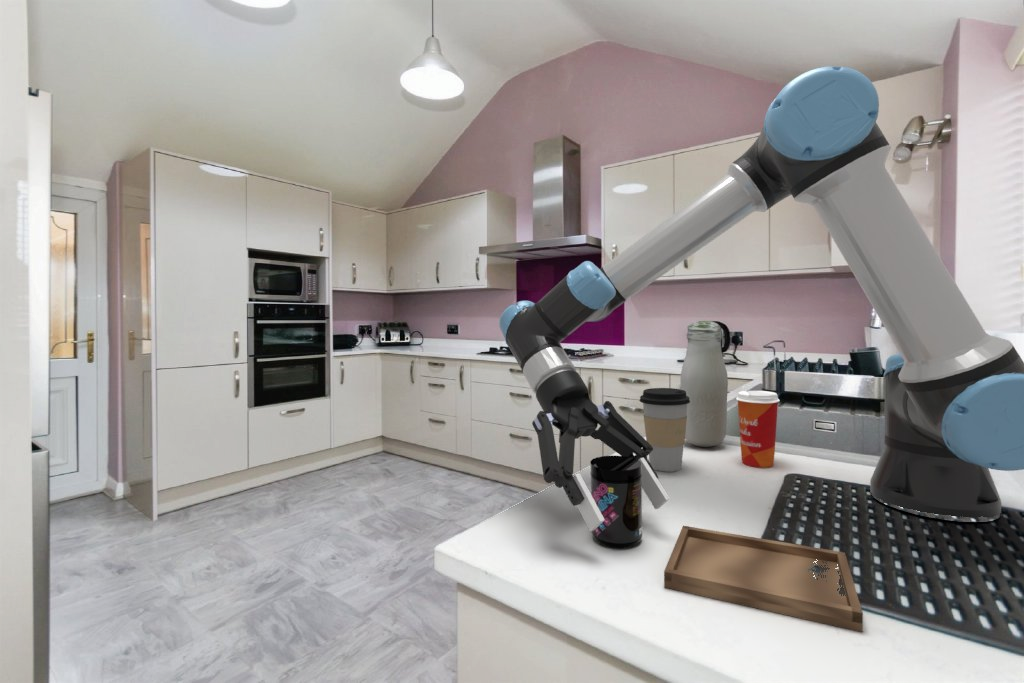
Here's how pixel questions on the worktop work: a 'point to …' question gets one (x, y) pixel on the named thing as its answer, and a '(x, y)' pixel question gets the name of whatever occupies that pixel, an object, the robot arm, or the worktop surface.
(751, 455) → the paper cup
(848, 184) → the robot arm
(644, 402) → the coffee cup
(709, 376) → the glass bottle
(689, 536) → the tray
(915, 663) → the worktop surface
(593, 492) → the supplement container
